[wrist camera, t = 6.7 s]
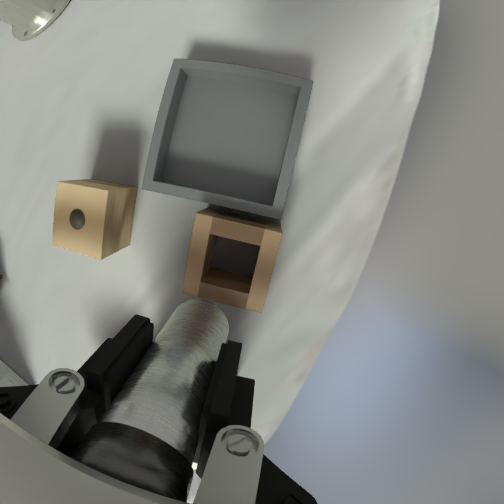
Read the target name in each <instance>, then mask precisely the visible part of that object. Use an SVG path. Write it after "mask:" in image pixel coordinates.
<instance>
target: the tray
mask: <svg viewBox="0 0 504 504" xmlns="http://www.w3.org/2000/svg"><path fill="white" fill-rule="evenodd" d="M312 84H313V81H312V80H308V79H304V78H300V77H296V76H292V75H288V74H283V73H278V72H274V71H269V70H264V69H258V68H253V67H247V66H240V65H234V64H227V63H219V62H210V61H201V60H189V59H174V60H173V64H172V67H171V70H170V73H169V76H168V80H167V83H166V86H165V90H164V93H163V97H162V101H161V104H160V108H159V112H158V116H157V120H156V124H155V128H154V132H153V136H152V141H151V145H150V150H149V154H148V159H147V164H146V169H145V174H144V180H143V185H142V189H143V190H148V191H153V192H158V193H163V194H168V195H173V196H177V197H182V198H187V199H192V200H196V201H201V202H205V203H210V204H215V205H219V206H223V207H228V208H232V209H237V210H241V211H245V212H250V213H254V214H258V215H262V216H266V217H271V218H275V219H279V220H281V216H282V212H283V208H284V204H285V200H286V196H287V192H288V187H289V183H290V179H291V175H292V171H293V167H294V162H295V158H296V154H297V150H298V146H299V141H300V137H301V133H302V128H303V124H304V120H305V115H306V111H307V107H308V102H309V98H310V93H311V89H312Z"/></svg>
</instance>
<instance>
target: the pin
mask: <svg viewBox="0 0 504 504" xmlns="http://www.w3.org/2000/svg"><path fill="white" fill-rule="evenodd" d="M228 333H229V323H228V320H227V318H226V316H225V314H224V313H223V311H222V310H221V309H220V308H219V307H218V306H216V305H215V304H213V303H211V302H209V301H206V300H202V299H191V300H187V301H185V302H183V303H181V304H180V305H179V306H178V307H177V308H176V310H175V311H174V312H173V314H172V315H171V317H170V318H169V319H168V321H167V322H166V324H165V325H164V327H163V328H162V329H161V331H160V332H159V334H158V335H157V337H156V338H155V340H154V341H153V342H152V344H151V345H150V347H149V348H148V350H147V351H146V353H145V354H144V356H143V357H142V358H141V360H140V361H139V363H138V364H137V366H136V367H135V369H134V370H133V372H132V373H131V375H130V376H129V378H128V379H127V381H126V382H125V384H124V385H123V387H122V388H121V390H120V391H119V393H118V394H117V396H116V397H115V399H114V400H113V402H112V403H111V405H110V406H109V408H108V409H107V411H106V412H105V414H104V415H103V417H102V418H101V420H100V422H99V423H97V424H95V425H93V426H92V427H91V428H90V430H89V431H88V433H87V435H86V436H85V438H84V439H83V441H82V442H81V444H80V445H79V447H78V448H77V450H76V451H75V453H74V455H73V456H72V459H74V460H76V461H78V462H80V463H82V464H84V465H86V466H88V467H90V468H92V469H94V470H96V471H98V472H100V473H103V474H105V475H107V476H110V477H112V478H114V479H117V480H119V481H122V482H124V483H127V484H129V485H132V486H135V487H137V488H140V489H143V490H146V491H149V492H152V493H155V494H158V495H161V496H164V497H168V498H171V499H175V500H178V501H182V502H187V498H188V494H189V490H190V487H191V483H192V479H193V469H192V464H193V460H194V457H195V453H196V450H197V446H198V442H199V437H198V429H199V423H200V418H201V414H202V409H203V406H204V402H205V399H206V395H207V392H208V388H209V385H210V382H211V378H212V375H213V372H214V368H215V365H216V362H217V358H218V355H219V351H220V348H221V345H222V343H226V340H227V337H228Z"/></svg>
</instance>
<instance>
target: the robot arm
mask: <svg viewBox="0 0 504 504" xmlns="http://www.w3.org/2000/svg"><path fill="white" fill-rule="evenodd" d="M69 1H70V0H0V20H1V21H3V22H6V23H8V24H10V25H12V34H13V36H14V37H15V38H16V39H19V40H28V39H30V38H33V37H35V36H36V35H38V34H39V33H41V32H42V31H43V30H45V29H46V28H47V27H48V26H49V25H50V24H51V23H52V22H53V21H54V20H55V19H56V18H57V17H58V16H59V15H60V14H61V12H62V11H63V10H64V9H65V7H66V6H67V4H68V3H69ZM153 328H154V324H153V323H150V319H149V318H146V317H143V316H140V315H135V316H134V317H133V318H132V319H131V320H130V321H129V322H128V323H127V324H126V325H125V326H124V327H123V329H122V330H121V331H120V332H119V333H118V334H117V335H116V336H115V337H114V338H113V339H111V338H108V339H107V340H106V341H105V342H104V343H103V344H102V345H101V346H100V347H99V348H98V349H97V350H96V351H95V353H94V354H93V355H92V356H91V357H90V358H89V359H88V360H87V361H86V362H85V363H84V364H83V366H82V367H81V368H80V369H79V370H78V371H77V372H76V371H74V370H71V369H68V368H59V369H55V370H53V371H51V372H49V373H48V374H47V375H46V376H45V378H44V379H43V380H42V381H41V382H40V384H38V385H25V386H10V387H0V504H190V503H186V502H182V501H178V500H175V499H171V498H168V497H164V496H161V495H158V494H155V493H152V492H149V491H146V490H143V489H140V488H137V487H135V486H132V485H129V484H127V483H124V482H122V481H119V480H117V479H114V478H112V477H110V476H107V475H105V474H103V473H100V472H98V471H96V470H94V469H92V468H90V467H88V466H86V465H84V464H82V463H80V462H78V461H76V460H74V459H72V456H73V455H74V453H75V451H76V450H77V448H78V447H79V445H80V444H81V442H82V441H83V439H84V438H85V436H86V435H87V433H88V431H89V430H90V428H91V427H92V426H93V425H95V424H97V423H99V422H100V420H101V418H102V417H103V415H104V414H105V412H106V411H107V409H108V408H109V406H110V405H111V403H112V402H113V400H114V399H115V397H116V396H117V394H118V393H119V391H120V390H121V388H122V387H123V385H124V384H125V382H126V381H127V379H128V378H129V376H130V375H131V373H132V372H133V370H134V369H135V367H136V366H137V364H138V363H139V361H140V360H141V358H142V357H143V356H144V354H145V353H146V351H147V350H148V348H149V347H150V345H151V344H152V340H153ZM241 348H242V343H238V342H234V341H229V340H228V344H226V343H222V345H221V348H220V351H219V355H218V358H217V362H216V365H215V368H214V372H213V375H212V378H211V382H210V385H209V388H208V392H207V395H206V399H205V402H204V406H203V409H202V414H201V418H200V423H199V429H198V437H199V442H198V446H197V450H196V453H195V457H194V460H193V462H194V463H198V464H197V469H196V474H197V475H198V476H199V477H200V478H201V482H200V485H199V488H198V491H197V493H196V496H195V499H194V502H193V504H317V502H316V500H315V498H314V497H312V495H311V494H310V493H308V492H307V491H306V490H305V489H303V488H302V487H301V486H299V485H298V484H297V483H296V482H295V481H293V480H292V479H291V478H290V477H289V476H287V475H286V474H285V473H284V472H283V471H281V470H280V469H279V468H278V467H277V466H276V465H275V464H274V463H272V462H271V461H270V460H269V459H268V458H267V457H266V456H264V454H263V452H264V441H263V439H262V437H261V436H260V435H259V434H258V433H257V432H256V431H254V430H253V429H251V428H250V427H251V417H252V406H253V395H254V385H255V380H254V379H249V378H244V377H240V376H236V375H237V370H238V364H239V359H240V353H241Z"/></svg>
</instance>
